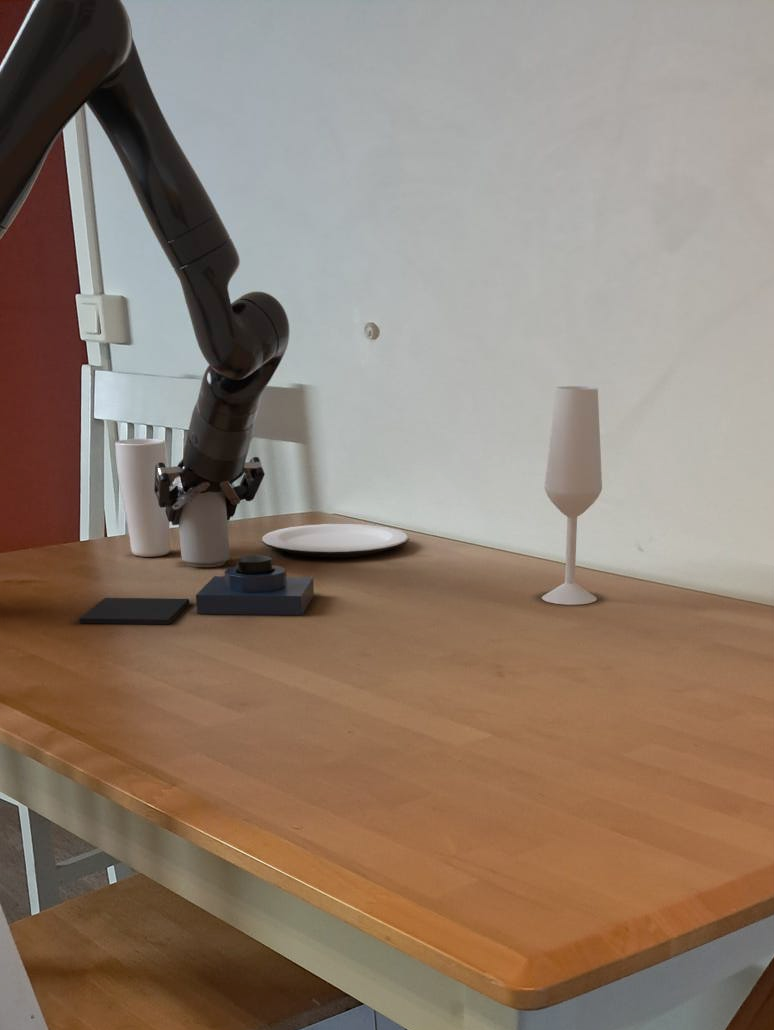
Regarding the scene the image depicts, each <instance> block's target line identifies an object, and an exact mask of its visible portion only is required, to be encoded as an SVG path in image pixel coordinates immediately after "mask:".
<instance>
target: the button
mask: <svg viewBox="0 0 774 1030" xmlns="http://www.w3.org/2000/svg"><path fill="white" fill-rule="evenodd" d="M236 565H237V567H238V573H239V574H245V575H259V574H268V573H272V572H273V571H272V565H273V558H272V557H270V556H268V555H245V556H240V557H238V558H237V559H236Z"/></svg>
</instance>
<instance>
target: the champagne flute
mask: <svg viewBox="0 0 774 1030" xmlns="http://www.w3.org/2000/svg"><path fill="white" fill-rule="evenodd" d="M553 403H554V404H553V411H552V421H551V429H550V437H549V438H550V439H549V445H548V454H547V456H548V457H547V463H546V472H545V481H544V491H545V493H546V495H547V497H548V499H549V500H550V502H551V503H552V504H553V505H554V506H555V507H556V509H557V510H559V512H560V513H561V514H563V515H564V516H566V518H567V519H566V543H565V568H564V569H565V571H564V572H565V573H564V583H562V584H560V585H559V586H556V587H555V588H554V589H552V590H550V591H549V592H547V593H545V594H544V595H542V596H541V599H542V600H543V601H544V602H547V603H551V604H555V605H568V606H569V605H570V606H575V605H576V606H577V605H586V604H591V603H595V602H596V601H597V597H596V596H595V595H593V594H592V593H590V592H589V591H588V590H586V589H584V588H583V587H581V586H580V585H579V584H577V583H576V560H577V559H576V557H577V535H578V532H577V531H578V517H579V516H581V515H582V514H584V513H585V512H586V511H587V510H588V509H589V508H591V506H592V505H594V504H595V502H596V501H597V499H598V498H599V497H600V495H601V493H602V490H603V475H602V457H601V456H602V453H601V431H600V428H601V427H600V407H599V406H600V405H599V388H598V387H594V386H581V385H580V386H579V385H578V386H573V385H572V386H571V385H569V386H556V388H555V393H554V402H553Z"/></svg>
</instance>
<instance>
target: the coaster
mask: <svg viewBox="0 0 774 1030" xmlns="http://www.w3.org/2000/svg"><path fill="white" fill-rule="evenodd" d="M189 605H190V598H157V597H154V598H152V597H151V598H150V597H149V598H148V597H104V598H103V599H102V600H100V601H99V602H98V603H96V605H94V606H92V607H91V608H90V609H89V610H88V611H87V612H85V613H84V614H83V615H82V616H80V617H79V620H78V621H79V624H90V625H91V624H94V625H95V624H99V625H103V624H105V625H171V623H172V622H174V620H176V618H177V617H178V616H179V615H180V614H181V613H182V612H183V611H184V610H185V609H186V608H187V607H188V606H189Z"/></svg>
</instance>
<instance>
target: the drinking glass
mask: <svg viewBox="0 0 774 1030" xmlns="http://www.w3.org/2000/svg"><path fill="white" fill-rule="evenodd" d="M114 450H115V451H114V452H115V463H116V471H117V472H116V473H117V479H118V482H119V489H120V494H121V499H122V505H123V509H124V515H125V519H126V520H125V521H126V525H127V531H128V537H129V545H130V551H131V553H132V554H133V555H134V556H136V557H142V558H155V557H163V556H166V555H168V554H169V553H170V552H171V538H170V522H169V521H168V518H167V515H166V512H165V509H166V507H164V508H161V507H160V506H159V504H158V499H157V496H156V494H155V491H154V483H155V466H156V464H158V463H164V464H165V467H166V468H167V467H169V459H168V458H169V457H168V450H167V443H166V441H165V439H159V438H129V439H121V440H117V441H115V442H114Z"/></svg>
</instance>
